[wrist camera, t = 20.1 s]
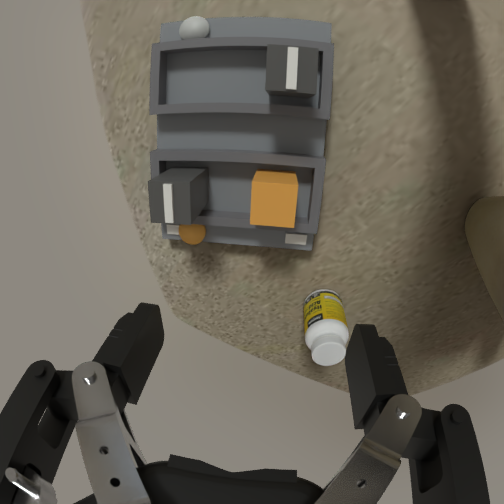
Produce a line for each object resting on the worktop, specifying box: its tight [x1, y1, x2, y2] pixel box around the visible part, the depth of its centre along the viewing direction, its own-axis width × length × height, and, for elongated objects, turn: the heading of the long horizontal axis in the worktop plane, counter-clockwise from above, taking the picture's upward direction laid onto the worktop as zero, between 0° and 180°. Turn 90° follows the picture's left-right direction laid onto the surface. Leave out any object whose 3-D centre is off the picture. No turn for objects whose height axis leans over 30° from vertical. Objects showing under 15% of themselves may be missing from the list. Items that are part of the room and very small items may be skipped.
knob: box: [265, 44, 319, 98], centre depth 22 cm, size 4×4×7 cm
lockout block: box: [250, 169, 298, 228], centre depth 28 cm, size 4×4×6 cm
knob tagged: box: [148, 167, 208, 225], centre depth 28 cm, size 4×4×7 cm
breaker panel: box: [150, 16, 334, 251], centre depth 29 cm, size 18×26×4 cm
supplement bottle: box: [304, 289, 349, 366], centre depth 35 cm, size 5×5×10 cm
